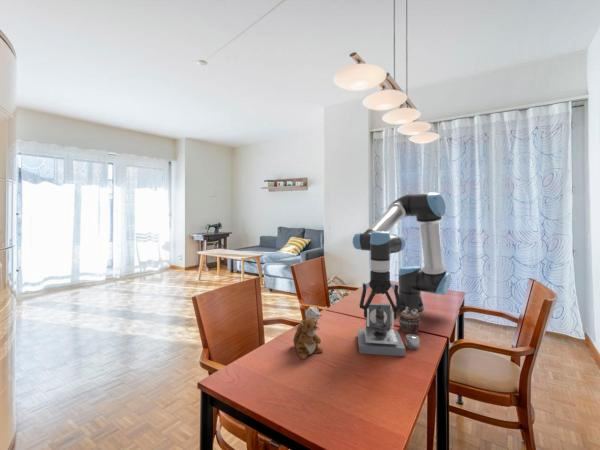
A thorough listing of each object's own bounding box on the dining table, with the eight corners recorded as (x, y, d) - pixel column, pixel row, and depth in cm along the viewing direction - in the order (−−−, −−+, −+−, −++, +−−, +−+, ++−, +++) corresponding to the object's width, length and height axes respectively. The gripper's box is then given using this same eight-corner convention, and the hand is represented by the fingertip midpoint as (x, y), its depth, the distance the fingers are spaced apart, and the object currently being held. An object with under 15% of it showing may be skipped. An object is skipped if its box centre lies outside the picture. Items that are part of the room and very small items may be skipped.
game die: (315, 328, 145) (327, 312, 146) (311, 329, 138) (323, 311, 139) (302, 317, 149) (313, 301, 150) (297, 317, 142) (309, 300, 143)
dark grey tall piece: (370, 331, 120) (370, 303, 119) (384, 331, 120) (384, 302, 120) (375, 337, 114) (375, 307, 113) (390, 337, 114) (389, 306, 114)
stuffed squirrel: (303, 361, 107) (303, 326, 106) (286, 346, 119) (285, 314, 119) (326, 354, 112) (325, 320, 111) (307, 340, 124) (306, 310, 123)
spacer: (417, 343, 120) (417, 334, 119) (420, 349, 115) (420, 339, 115) (404, 343, 120) (404, 333, 120) (407, 348, 116) (407, 338, 115)
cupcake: (399, 324, 141) (399, 303, 140) (421, 327, 137) (421, 306, 136) (397, 331, 132) (397, 309, 132) (420, 335, 128) (420, 312, 128)
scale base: (397, 338, 125) (398, 303, 125) (405, 356, 109) (405, 317, 109) (357, 335, 128) (357, 302, 127) (359, 353, 112) (359, 315, 111)
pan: (393, 334, 122) (393, 329, 122) (398, 347, 110) (398, 341, 110) (363, 332, 124) (363, 327, 124) (365, 345, 112) (365, 340, 112)
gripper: (406, 268, 118) (406, 323, 119) (352, 268, 121) (352, 321, 122) (410, 272, 110) (410, 331, 111) (352, 271, 114) (353, 328, 115)
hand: (380, 325), depth 117 cm, fingers open, 9 cm apart
